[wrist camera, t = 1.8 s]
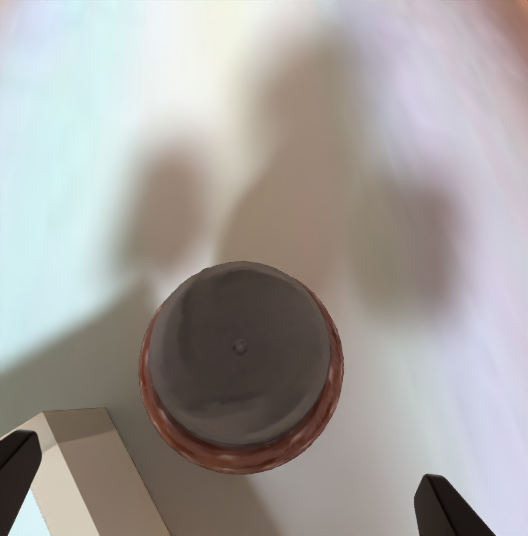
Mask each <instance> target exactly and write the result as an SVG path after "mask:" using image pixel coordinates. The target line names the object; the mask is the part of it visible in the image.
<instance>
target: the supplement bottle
mask: <svg viewBox="0 0 528 536" xmlns="http://www.w3.org/2000/svg"><path fill="white" fill-rule="evenodd" d="M343 359H344V357H343V354H342V346H341V340H340V338H339V335H338V330H337V328H336V326H335V324H334V322H333V321H332V318H331V317H330V315H329V313H328V312H327V310H326V308H325V307H324V305H323V304H322V303H321V301H320V300H319V299H318V298H317V297H316V296H315V295H314V293H313V292H312V291H310V290H309V289H308V288H307V287H306V286H305V285H304V284H302V283H301V282H299V281H298V280H296V279H294V278H292V277H290V276H289V275H287V274H285V273H283V272H281V271H279V270H277V269H275V268H273V267H270V266H267V265H263V264H260V263H253V262H246V261H240V262H229V263H225V264H220V265H216V266H213V267H211V268H206V269H203V270H202V271H201V272H199V273H197V274H195V275H193V276H191V277H190V278H189V279H187V280H186V281H185V282H183V283H182V284H181V285H180V286H179V287H178V288H177V289H176V290H175V291H174V292H173V293H172V294H171V295H170V296H169V297H168V298H167V299H166V300H165V301H164V302H163V304H162V305H161V306H160V307H159V309H158V310H157V311H156V313H155V315H154V317H153V319H152V320H151V322H150V324H149V327H148V329H147V331H146V333H145V336H144V340H143V343H142V348H141V352H140V359H139V385H140V390H141V394H142V398H143V402H144V405H145V408H146V411H147V413H148V416H149V418H150V420H151V422H152V423H153V425H154V426H155V428H156V429H157V431H158V433H159V434H160V436H161V437H162V438H163V439H164V440H165V441H166V442H167V443H168V444H169V445H170V446H171V447H172V448H173V449H174V450H175V451H176V452H178V453H179V454H180V455H182V456H183V457H185V458H186V459H187V460H189V461H190V462H192V463H195V464H197V465H199V466H201V467H204V468H206V469H209V470H213V471H216V472H220V473H227V474H243V475H244V474H253V473H259V472H263V471H267V470H272V469H274V468H276V467H278V466H281V465H283V464H285V463H287V462H288V461H290V460H292V459H294V458H296V457H297V456H298V455H300V454H301V453H302V452H304V451H305V450H306V449H307V448H308V447H309V446H310V445H311V444H312V443H313V442H314V441H315V439H316V438H317V437H318V436H319V435H320V434H321V433H322V432H323V430H324V428H325V427H326V425H327V424H328V422H329V420H330V419H331V417H332V415H333V413H334V411H335V409H336V406H337V403H338V400H339V397H340V393H341V387H342V381H343V374H344V368H343V367H344V363H343Z"/></svg>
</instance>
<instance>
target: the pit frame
mask: <svg viewBox="0 0 528 536" xmlns="http://www.w3.org/2000/svg"><path fill="white" fill-rule="evenodd" d="M18 429H23V430H32V431H35V432H36V433H37V434H38V438H39V443H40V447H41V451H42V461H41V464H40V466H39V469H38V471H37V473H36V475H35V477H34V480H33V482H32V484H31V486H30V488H31V491H32V493H33V495H34V498H35V500H36V503H37V505H38V507H39V510H40V512H41V514H42V517H43V519H44V521H45V524H46V526H47V528H48V531H49V533H50V535H51V536H170V534H169V532H168V530H167V528H166V526H165V524H164V522H163V520H162V518H161V516H160V514H159V512H158V510H157V508H156V506H155V504H154V502H153V500H152V498H151V496H150V495H149V493H148V491H147V489H146V487H145V485H144V483H143V481H142V479H141V477H140V475H139V473H138V471H137V469H136V467H135V465H134V463H133V461H132V459H131V457H130V455H129V453H128V451H127V449H126V448H125V446H124V444H123V442H122V440H121V438H120V436H119V434H118V432H117V430H116V428H115V426H114V424H113V422H112V420H111V418H110V416H109V414H108V412H107V410H106V408H90V409H73V410H57V411H42V412H40V413H39V414H37V415H36V416H34V417H32V418H31V419H29V420H28V421H26V422H25V423H23V424H21V425H20V426H18V427H17V428H15V429H13V430H12V431H10V432H9V433H7V434H5V435H4V436H2V437H1V438H0V440H1V439H3V438H4V437H6V436H7V435H9V434H10V433H12V432H13V431H16V430H18Z"/></svg>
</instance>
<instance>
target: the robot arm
mask: <svg viewBox="0 0 528 536" xmlns="http://www.w3.org/2000/svg"><path fill="white" fill-rule="evenodd" d="M41 461H42V451H41V447H40V443H39V438H38V434H37V433H36V432H35V431H32V430H23V429H18V430H16V431H13V432H12V433H10V434H9V435H7V436H6V437H4V438H3V439H1V440H0V536H8V534H9V532H10V530H11V528H12V526H13V523H14V521H15V519H16V517H17V515H18V512H19V510H20V508H21V506H22V504H23V502H24V499H25V497H26V495H27V493H28V491H29V488H30V486H31V484H32V482H33V480H34V477H35V475H36V473H37V471H38V469H39V466H40V464H41ZM414 507H415V513H416V519H417V525H418V530H419V536H496V535H495V534H494V533H493V532H492V531H491V530H490V528H489V527H488V526H487V525H486V524H485V523H484V522H483V520H482V519H481V518H480V517H479V516H478V515H477V513H476V512H475V511H474V510H473V509H472V508H471V507H470V505H469V504H468V503H467V502H466V501H465V500H464V499H463V497H462V496H461V495H460V494H459V493H458V492H457V491H456V489H455V488H454V487H453V486H452V485H451V484H450V483H449V481H448V480H447V479H446V478H445V477H443V476H441V475H434V474H425V475H424V476H423V477H422V480H421V482H420V484H419V486H418V489H417V491H416V493H415V496H414Z"/></svg>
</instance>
